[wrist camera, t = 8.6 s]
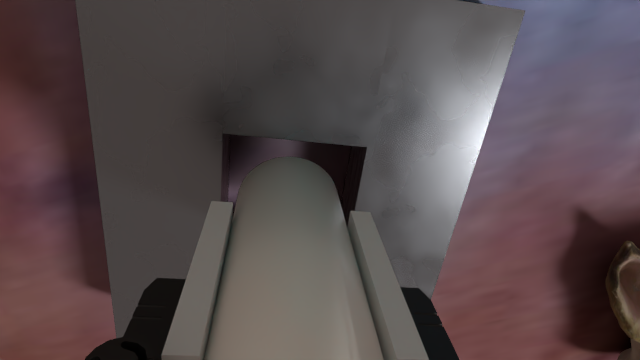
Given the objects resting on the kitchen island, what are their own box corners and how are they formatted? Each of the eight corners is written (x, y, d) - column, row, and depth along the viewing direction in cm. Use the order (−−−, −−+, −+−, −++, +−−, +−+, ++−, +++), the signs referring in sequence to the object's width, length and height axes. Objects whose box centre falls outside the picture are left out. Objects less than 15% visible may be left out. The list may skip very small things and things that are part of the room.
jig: (399, 312, 25) (413, 351, 22) (136, 302, 23) (117, 344, 20) (487, 7, 17) (525, 10, 15) (105, -51, 15) (67, -60, 13)
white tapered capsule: (330, 246, 18) (436, 799, 6) (235, 241, 18) (127, 846, 5) (345, 161, 16) (548, 705, 4) (239, 152, 16) (85, 763, 3)
